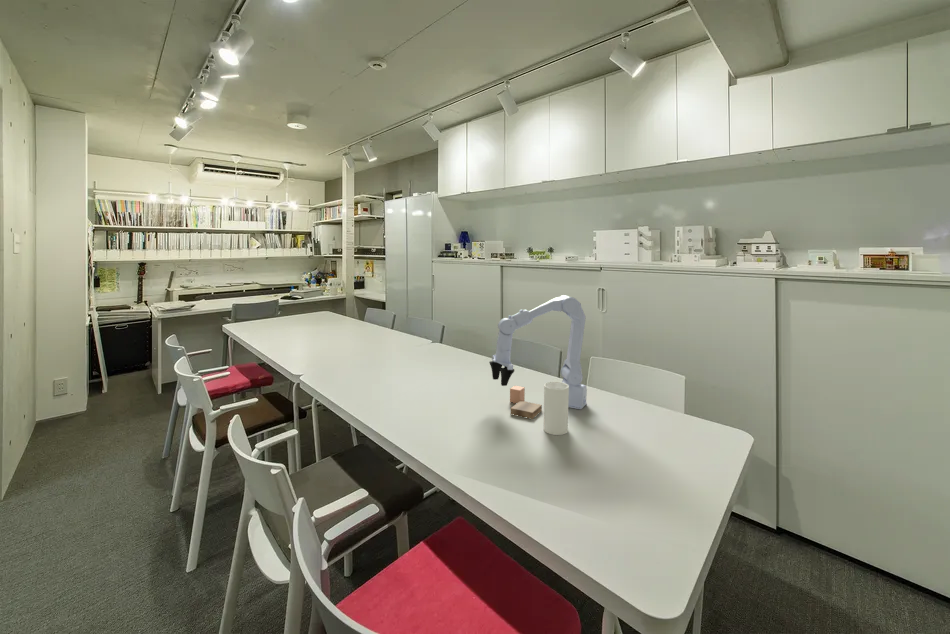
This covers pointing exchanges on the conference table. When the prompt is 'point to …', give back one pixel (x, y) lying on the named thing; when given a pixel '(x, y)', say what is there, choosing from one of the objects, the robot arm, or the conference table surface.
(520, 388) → the block
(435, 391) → the conference table surface
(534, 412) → the base slab
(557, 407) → the cup
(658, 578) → the conference table surface
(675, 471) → the conference table surface
